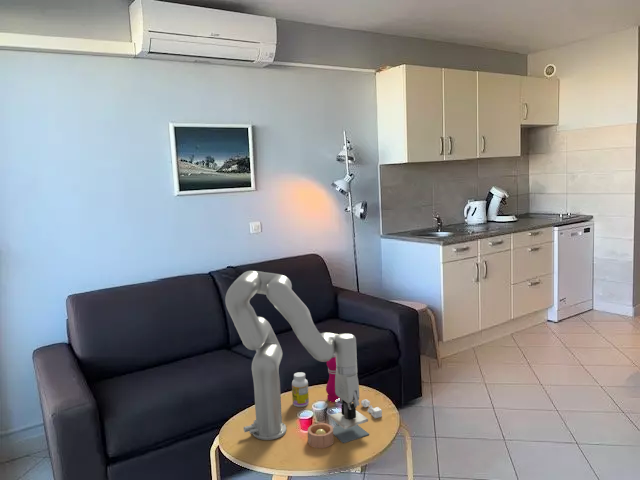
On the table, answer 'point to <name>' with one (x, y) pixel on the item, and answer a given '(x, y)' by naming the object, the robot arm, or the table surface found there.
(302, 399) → the supplement bottle
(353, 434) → the mat
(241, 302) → the robot arm
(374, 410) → the game pieces
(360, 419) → the lid
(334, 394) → the pepper mill
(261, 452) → the table surface
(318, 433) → the bowl
